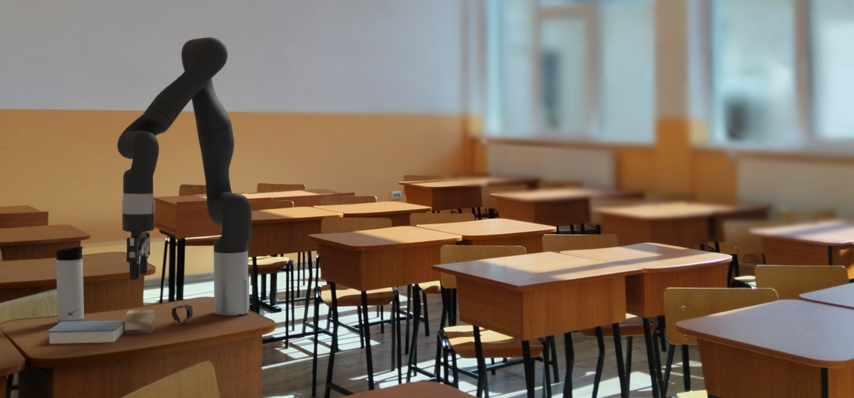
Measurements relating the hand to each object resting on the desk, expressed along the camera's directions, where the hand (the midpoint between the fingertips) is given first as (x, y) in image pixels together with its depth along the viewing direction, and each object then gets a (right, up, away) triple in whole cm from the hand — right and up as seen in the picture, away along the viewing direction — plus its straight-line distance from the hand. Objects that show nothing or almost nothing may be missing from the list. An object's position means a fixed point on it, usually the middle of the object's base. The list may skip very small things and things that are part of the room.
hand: (138, 276), depth 199 cm
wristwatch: (+8, -13, +10) cm, 19 cm away
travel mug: (-21, -13, +10) cm, 27 cm away
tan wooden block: (0, -14, +1) cm, 14 cm away
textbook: (-10, -15, -6) cm, 19 cm away
